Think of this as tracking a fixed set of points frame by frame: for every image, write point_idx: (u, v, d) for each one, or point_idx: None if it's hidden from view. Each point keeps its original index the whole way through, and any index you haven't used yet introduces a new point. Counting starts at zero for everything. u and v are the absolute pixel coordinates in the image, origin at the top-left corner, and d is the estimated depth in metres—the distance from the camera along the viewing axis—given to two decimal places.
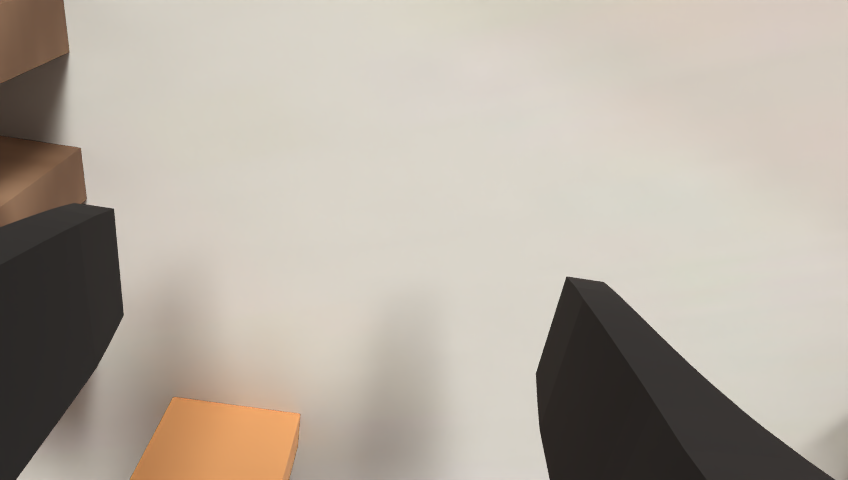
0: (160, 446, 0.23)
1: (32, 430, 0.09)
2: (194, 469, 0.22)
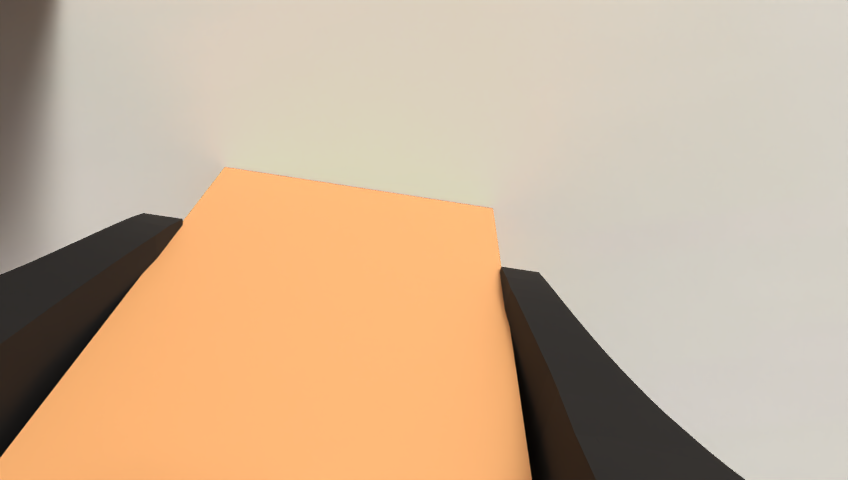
0: (204, 235, 0.10)
1: None
2: (293, 278, 0.09)
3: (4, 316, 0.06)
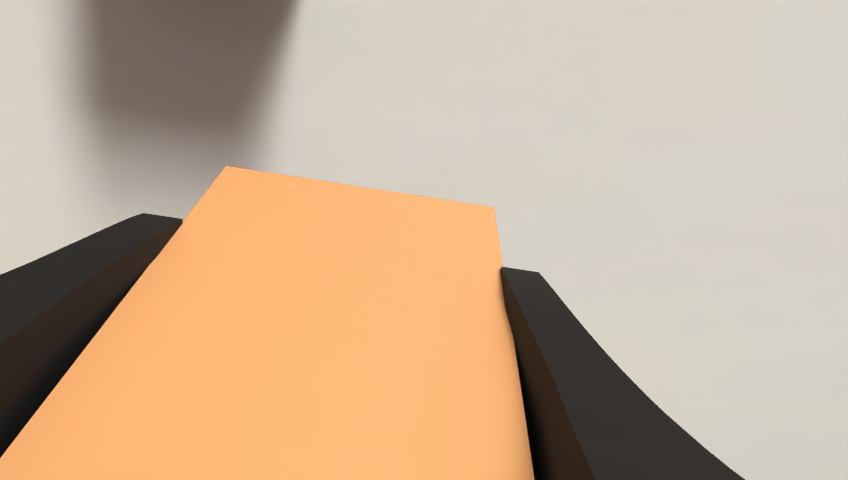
0: (206, 233, 0.10)
1: None
2: (294, 276, 0.09)
3: (5, 316, 0.06)
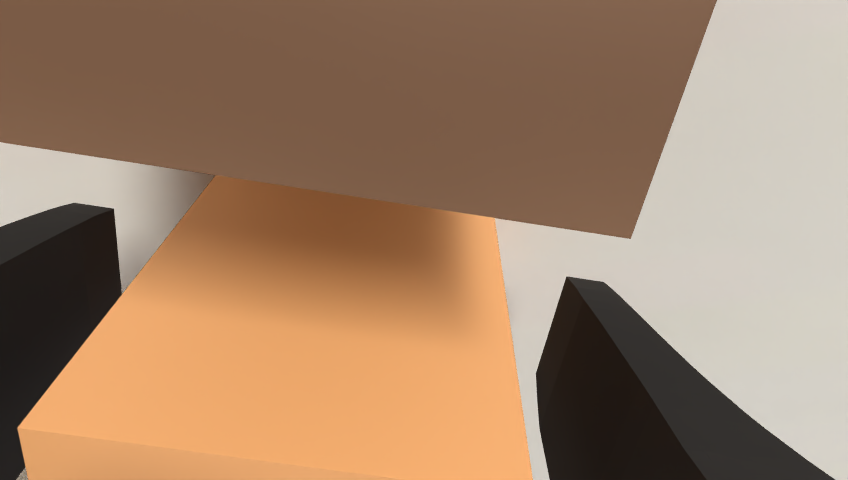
0: (224, 202, 0.10)
1: None
2: (306, 239, 0.10)
3: None
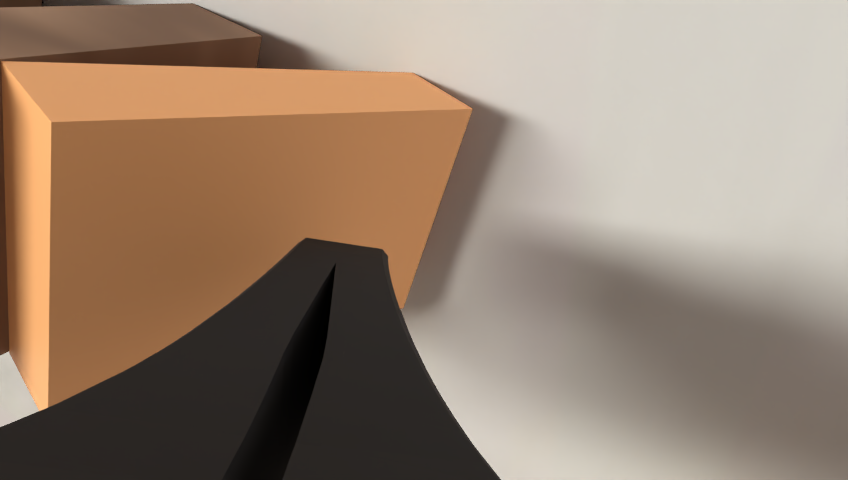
0: None
1: None
2: None
3: (256, 351, 0.06)
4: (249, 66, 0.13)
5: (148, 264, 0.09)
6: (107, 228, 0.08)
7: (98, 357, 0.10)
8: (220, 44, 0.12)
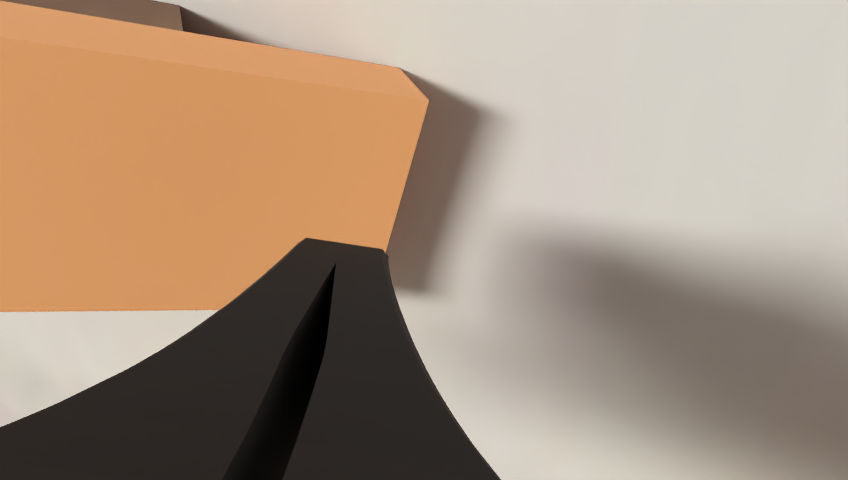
0: None
1: None
2: None
3: (255, 351, 0.06)
4: None
5: (51, 181, 0.10)
6: (6, 137, 0.10)
7: (11, 259, 0.11)
8: None
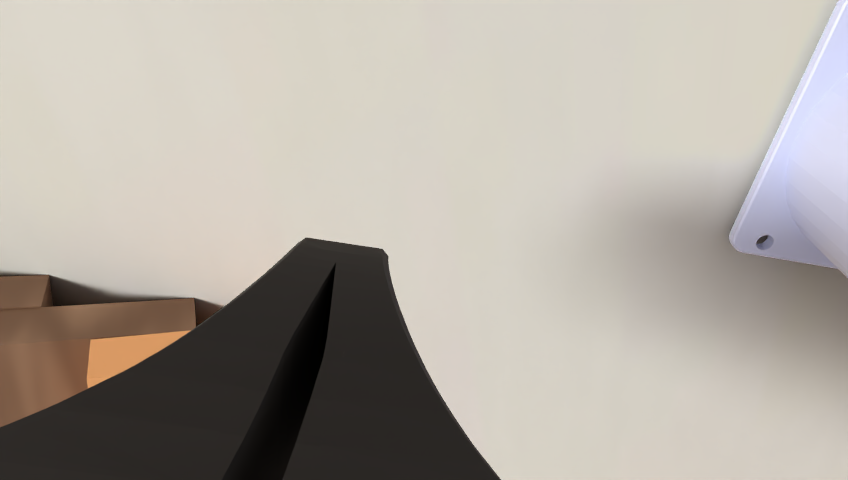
0: None
1: None
2: None
3: (256, 351, 0.06)
4: None
5: None
6: None
7: None
8: None
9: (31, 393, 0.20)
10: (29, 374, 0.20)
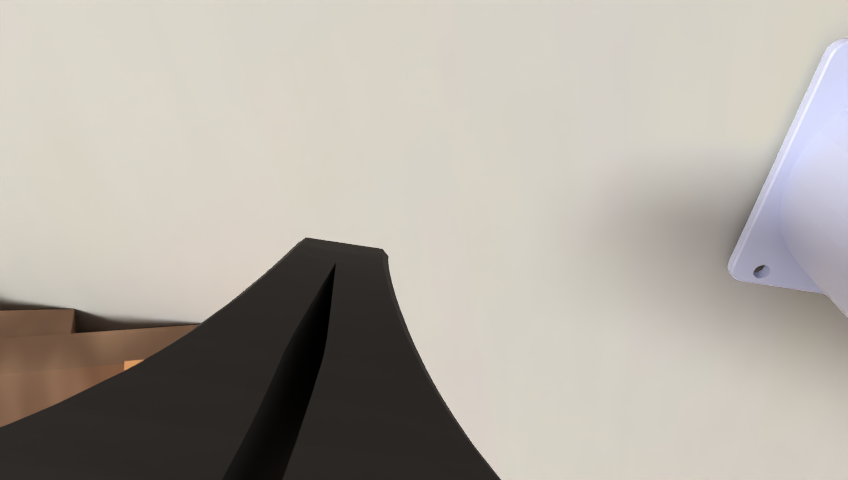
0: None
1: None
2: None
3: (255, 351, 0.06)
4: None
5: None
6: None
7: None
8: None
9: None
10: (61, 398, 0.21)
